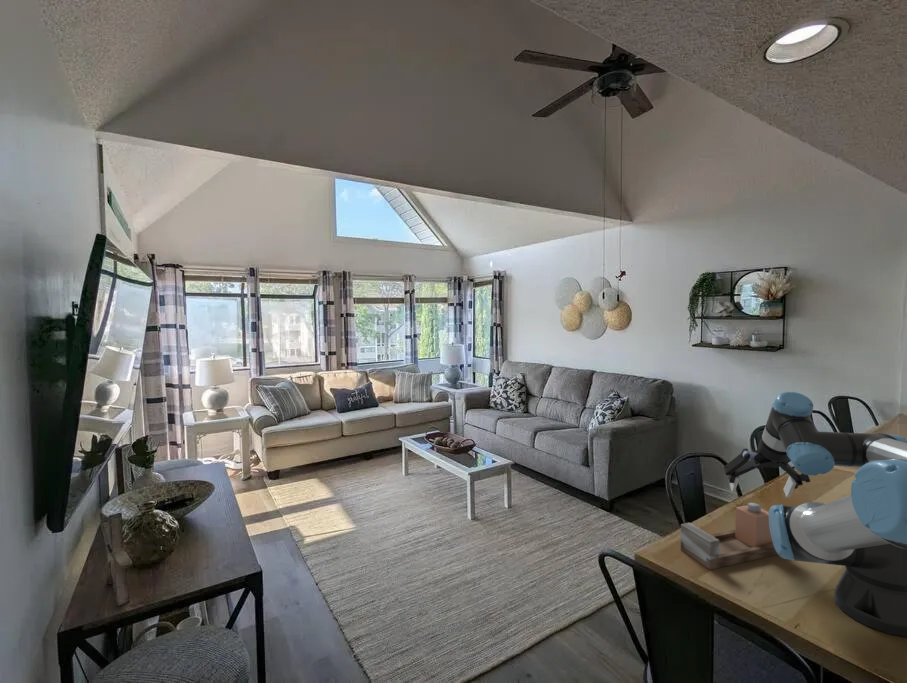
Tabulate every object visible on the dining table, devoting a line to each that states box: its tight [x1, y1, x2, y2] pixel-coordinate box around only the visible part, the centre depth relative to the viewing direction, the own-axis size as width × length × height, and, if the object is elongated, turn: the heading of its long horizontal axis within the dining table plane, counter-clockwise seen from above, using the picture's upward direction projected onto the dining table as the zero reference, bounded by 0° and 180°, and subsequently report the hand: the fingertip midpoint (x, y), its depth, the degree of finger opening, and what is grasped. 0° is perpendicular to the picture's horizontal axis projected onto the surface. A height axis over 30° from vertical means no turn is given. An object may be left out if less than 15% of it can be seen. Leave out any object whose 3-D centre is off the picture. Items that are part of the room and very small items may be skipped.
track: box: [680, 522, 779, 570], centre depth 122 cm, size 25×10×8 cm, turn 105°
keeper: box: [734, 502, 773, 547], centre depth 124 cm, size 6×6×11 cm
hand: (758, 490), depth 127 cm, fingers open, 13 cm apart
